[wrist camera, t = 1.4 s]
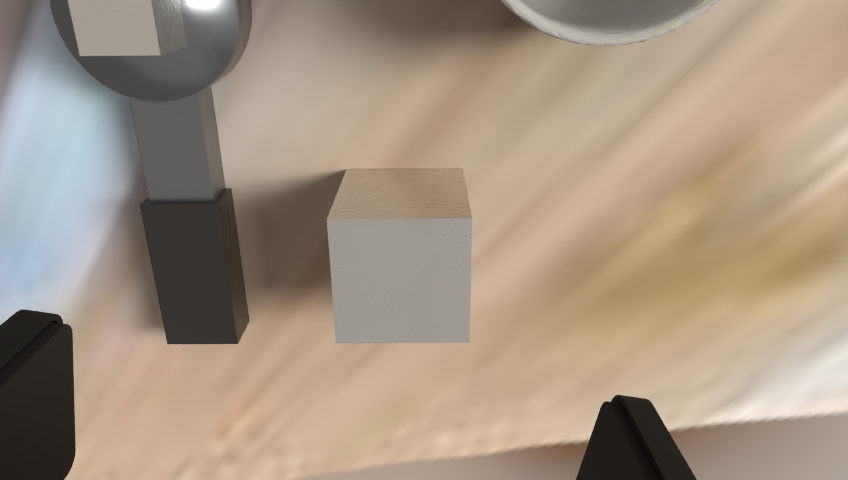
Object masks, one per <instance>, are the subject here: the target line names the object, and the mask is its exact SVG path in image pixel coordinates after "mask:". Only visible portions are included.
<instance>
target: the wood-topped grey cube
mask: <svg viewBox="0 0 848 480" xmlns="http://www.w3.org/2000/svg"><path fill="white" fill-rule="evenodd" d="M327 230H328V243H329V257H330V270H331V283H332V296H333V309H334V323H335V336H336V343H446V342H469V326H470V282H471V238H472V216H471V210H470V205H469V199H468V194H467V188H466V183H465V178H464V172H463V169H355V170H346V172H345V174H344V177H343V179H342V182H341V184H340V187H339V190H338V192H337V195H336V197H335V200H334V202H333V205H332V207H331V210H330V212H329V215H328V217H327Z"/></svg>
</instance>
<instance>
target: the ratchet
mask: <svg viewBox="0 0 848 480" xmlns="http://www.w3.org/2000/svg"><path fill="white" fill-rule="evenodd" d="M50 5H51V10H52V14H53V17H54V20H55V23H56V26H57V28H58V31H59V33H60V35H61V37H62V39H63V41H64V42H65V44H66V46H67V47H68V49H69V50H70V52H71V53H72V55H73V56H74V57H75V59H76V60H77V61H78V62H79V63H80V64H81V65H82V67H83V68H84V69H86V70H87V71H88V72H89V73H90V74H91V75H92V76H93V77H95V78H96V79H97V80H99V81H100V82H101V83H103V84H104V85H106V86H108V87H109V88H111V89H113V90H114V91H117V92H119V93H121V94H123V95H126V96H129V99H130V104H131V109H132V114H133V120H134V125H135V130H136V135H137V140H138V146H139V151H140V156H141V161H142V166H143V172H144V177H145V182H146V187H147V192H148V198H147V199H146V200H145V201H144V202H142V203H141V204H140V208H141V213H142V218H143V223H144V228H145V233H146V238H147V243H148V248H149V253H150V258H151V263H152V268H153V273H154V278H155V283H156V288H157V293H158V298H159V304H160V309H161V314H162V319H163V324H164V329H165V334H166V339H167V344H238V343H239V341H240V339H241V337H242V335H243V333H244V331H245V329H246V327H247V325H248V323H249V315H248V308H247V300H246V293H245V286H244V278H243V271H242V264H241V256H240V249H239V242H238V234H237V227H236V220H235V212H234V205H233V198H232V190H231V188H229V189H226V188H225V181H224V174H223V167H222V160H221V152H220V145H219V138H218V131H217V124H216V117H215V109H214V102H213V95H212V88H211V85H212V84H213V83H215V82H217V81H219V80H220V79H221V78H223V77H224V76H225V75H227V74H228V73H229V72H230V71H231V70H232V69H233V68H234V66H235V65H236V64H237V62H238V61H239V59H240V58H241V56H242V54H243V52H244V50H245V48H246V45H247V42H248V39H249V35H250V30H251V21H252V9H251V0H50Z"/></svg>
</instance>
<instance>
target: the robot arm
mask: <svg viewBox="0 0 848 480" xmlns="http://www.w3.org/2000/svg"><path fill="white" fill-rule="evenodd" d="M74 457H75V414H74V376H73V337H72V329H71V326H69V325H67V324H63V320H62V318H61V316H59V315H58V314H52V313H45V312H38V311H31V310H20V311H18V312H16V313H15V314H14V315H12V316H11V317H10V318H9V319H8V320H6V321H5V322H4V323H3V324H2V325H0V480H64V479H65V478H66V476H67V475H68V473H69V471H70V469H71V467H72V464H73V461H74ZM576 480H696V478H695V476H694V475H693V473H692V471H691V469H690V468H689V466H688V464H687V462H686V461H685V459H684V457H683V456H682V454H681V452H680V450H679V449H678V447H677V445H676V444H675V442H674V440H673V439H672V437H671V435H670V433H669V432H668V430H667V428H666V427H665V425H664V423H663V421H662V420H661V418H660V416H659V415H658V413H657V411H656V409H655V408H654V406H653V404H652V403H651V402H650V401H649V400H647V399H643V398H636V397H629V396H622V395H616V396H615V397H614V398H613V399H612V401H611V402H607V401H606V402H604V403H603V404H602V406H601V408H600V411H599V414H598V417H597V420H596V423H595V426H594V429H593V432H592V435H591V437H590V440H589V443H588V447H587V449H586V452H585V455H584V458H583V461H582V464H581V466H580V469H579V473H578V476H577V478H576Z"/></svg>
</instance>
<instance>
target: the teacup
mask: <svg viewBox="0 0 848 480" xmlns="http://www.w3.org/2000/svg"><path fill="white" fill-rule="evenodd" d="M717 1H719V0H501V2H502V3H503V4H504V5H505V6H506V7H507V8H508V9H509V10H510V11H512V12H513V13H514V14H515V15H516V16H517V17H519V18H520V19H521V20H523V21H524V22H526V23H527V24H529V25H530V26H532V27H534V28H535V29H537V30H539V31H541V32H543V33H545V34H547V35H550V36H553V37H556V38H559V39H562V40H566V41H570V42H574V43H578V44H587V45H597V46H612V45H626V44H631V43H635V42H643V41H645V40H648V39H651V38H654V37H658V36H661V35H663V34H665V33H668V32H671V31H674V30H676V29H677V28H678V27H680V26H682V25H684V24H686V23H688V22H690V21H691V20H693V19H695V18H696V17H698V16H699V15H701V14H703V13H704V12H706V11H707V10H708V9H709V8H710V7H711V6H712V5H713V4H715V3H716V2H717Z"/></svg>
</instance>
